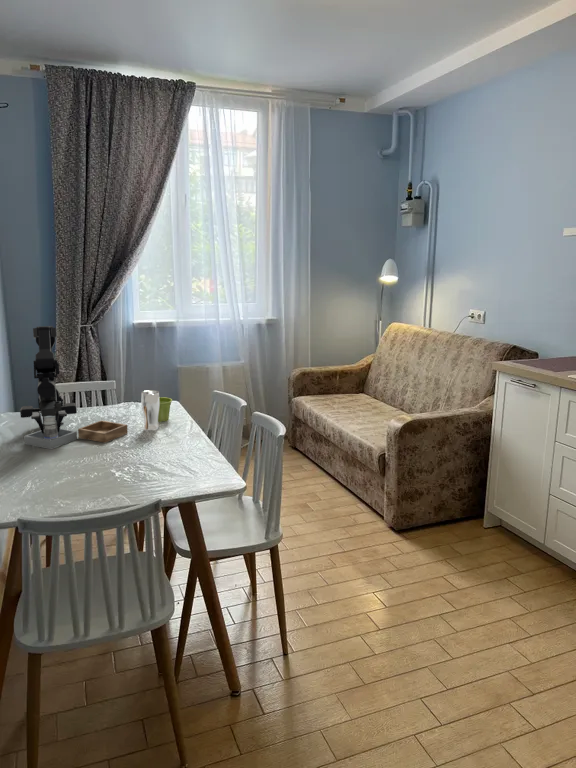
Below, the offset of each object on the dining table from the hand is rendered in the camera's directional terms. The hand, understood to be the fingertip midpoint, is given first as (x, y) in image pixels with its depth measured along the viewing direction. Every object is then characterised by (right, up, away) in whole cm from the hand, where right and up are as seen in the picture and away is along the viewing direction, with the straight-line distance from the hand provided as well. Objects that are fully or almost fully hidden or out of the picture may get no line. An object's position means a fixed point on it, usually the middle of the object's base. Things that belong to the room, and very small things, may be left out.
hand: (50, 432), depth 213 cm
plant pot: (+34, +3, +30) cm, 45 cm away
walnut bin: (+17, -2, +9) cm, 19 cm away
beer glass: (+33, 0, +18) cm, 37 cm away
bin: (0, -3, +1) cm, 3 cm away
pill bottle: (0, -2, +1) cm, 2 cm away
